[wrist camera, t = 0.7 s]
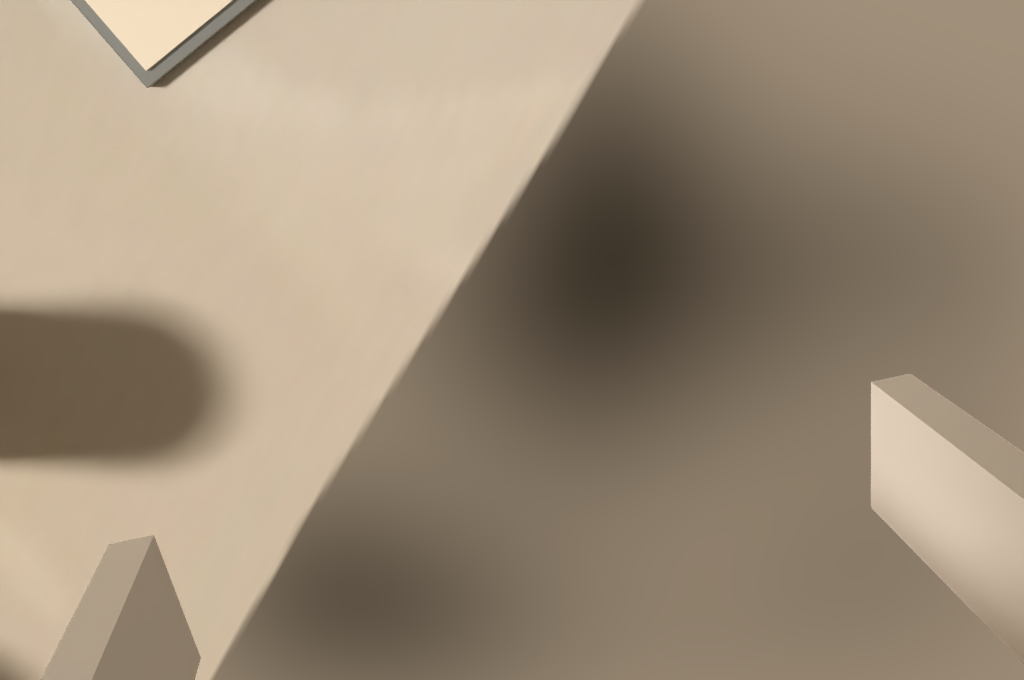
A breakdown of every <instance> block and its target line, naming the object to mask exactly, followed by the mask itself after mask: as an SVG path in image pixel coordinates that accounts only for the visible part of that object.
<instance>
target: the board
mask: <svg viewBox="0 0 1024 680" xmlns="http://www.w3.org/2000/svg"><path fill="white" fill-rule="evenodd" d="M71 1H72V3H73V4H74V5H75V6H76V7H77V8H78V9H79V11H80V12H81V13H82V14H83V15H84V16H85V18H86V19H87V20H88V21H89V22H90V23H91V24H92V26H93V27H94V28H95V29H96V30H97V31H98V32H99V34H100V35H101V36H102V37H103V38H104V39H105V40H106V42H107V43H108V44H109V45H110V46H111V47H112V48H113V50H114V51H115V52H116V53H117V54H118V55H119V56H120V58H121V59H122V60H123V61H124V62H125V63H126V65H127V66H128V67H129V68H130V69H131V70H132V71H133V73H134V74H135V75H136V76H137V77H138V78H139V79H140V81H141V82H142V83H143V84H144V85H145V86H146V87H147V88H149V87H151V86H153V85H154V84H155V83H156V82H157V81H159V80H160V79H161V78H162V77H164V76H165V75H166V74H167V73H169V72H170V71H171V70H172V69H173V68H175V67H176V66H177V65H178V64H180V63H181V62H182V61H183V60H184V59H186V58H187V57H188V56H189V55H191V54H192V53H193V52H194V51H196V50H197V49H198V48H199V47H200V46H202V45H203V44H204V43H205V42H207V41H208V40H209V39H210V38H212V37H213V36H214V35H215V34H216V33H218V32H219V31H220V30H221V29H223V28H224V27H225V26H226V25H227V24H229V23H230V22H231V21H232V20H234V19H235V18H236V17H237V16H239V15H240V14H241V13H242V12H243V11H245V10H246V9H247V8H248V7H250V6H251V5H252V4H253V3H254V2H256V1H257V0H71Z"/></svg>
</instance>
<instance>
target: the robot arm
mask: <svg viewBox="0 0 1024 680" xmlns="http://www.w3.org/2000/svg"><path fill="white" fill-rule="evenodd" d="M871 508H872V509H873V510H874V511H875V512H876V513H877V514H878V515H879V516H880V517H881V518H882V519H883V520H884V521H885V522H886V523H887V524H888V525H889V526H890V527H891V528H892V529H893V530H894V531H895V532H896V533H897V534H898V535H899V537H901V538H902V540H903V541H904V542H905V543H907V545H908V546H909V547H910V548H911V549H912V550H913V551H914V552H915V553H916V554H917V555H918V556H919V557H920V558H921V559H922V560H923V561H924V562H925V563H926V564H927V565H928V566H929V567H930V568H931V569H932V570H933V571H934V572H935V573H936V574H937V575H938V576H939V577H940V578H941V580H942V581H944V583H946V585H947V586H948V587H949V588H950V589H951V590H952V591H953V592H954V593H955V594H956V595H957V596H958V597H959V598H960V599H961V600H962V601H963V602H964V603H965V604H966V605H967V606H968V607H969V608H970V609H971V610H972V611H973V612H974V613H975V614H976V615H977V616H978V617H979V618H980V619H981V621H983V623H984V624H985V625H986V626H987V627H988V628H989V629H991V631H992V632H993V633H994V634H995V635H996V636H997V637H998V638H999V639H1000V640H1001V641H1002V642H1003V643H1004V644H1005V645H1006V646H1007V647H1008V648H1009V649H1010V650H1011V651H1012V652H1013V653H1014V654H1015V655H1016V656H1017V657H1018V658H1019V659H1020V660H1021V661H1022V663H1023V664H1024V452H1022V451H1021V450H1020V449H1018V448H1017V447H1015V446H1014V445H1012V444H1011V443H1009V442H1008V441H1007V440H1005V439H1004V438H1002V437H1001V436H999V435H998V434H996V433H995V432H994V431H992V430H991V429H989V428H988V427H986V426H985V425H984V424H982V423H981V422H979V421H978V420H976V419H975V418H973V417H972V416H971V415H969V414H968V413H966V412H965V411H963V410H962V409H960V408H959V407H958V406H956V405H955V404H953V403H952V402H950V401H949V400H947V399H946V398H945V397H943V396H942V395H940V394H939V393H937V392H936V391H935V390H933V389H932V388H930V387H929V386H927V385H926V384H925V383H923V382H922V381H920V380H919V379H917V378H916V377H915V376H913V375H912V374H906V375H902V376H897V377H892V378H888V379H883V380H879V381H873V382H871ZM200 658H201V657H200V655H199V652H198V649H197V647H196V644H195V642H194V639H193V636H192V634H191V631H190V629H189V626H188V623H187V621H186V618H185V615H184V613H183V610H182V608H181V605H180V602H179V600H178V597H177V595H176V592H175V589H174V587H173V584H172V581H171V579H170V576H169V574H168V571H167V568H166V566H165V563H164V561H163V558H162V555H161V553H160V550H159V547H158V545H157V542H156V540H155V537H154V535H152V536H147V537H142V538H138V539H133V540H128V541H124V542H119V543H114V544H109V546H108V548H107V550H106V552H105V554H104V556H103V558H102V560H101V562H100V564H99V566H98V568H97V570H96V572H95V574H94V575H93V577H92V579H91V581H90V583H89V585H88V587H87V589H86V591H85V593H84V595H83V597H82V599H81V601H80V603H79V605H78V607H77V609H76V611H75V613H74V615H73V617H72V619H71V621H70V623H69V625H68V627H67V629H66V631H65V633H64V635H63V637H62V639H61V641H60V643H59V645H58V647H57V649H56V651H55V653H54V655H53V657H52V659H51V661H50V663H49V665H48V667H47V669H46V671H45V673H44V675H43V677H42V679H41V680H195V676H196V673H197V669H198V666H199V662H200Z"/></svg>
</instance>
